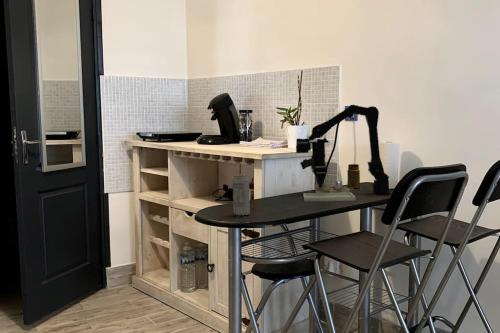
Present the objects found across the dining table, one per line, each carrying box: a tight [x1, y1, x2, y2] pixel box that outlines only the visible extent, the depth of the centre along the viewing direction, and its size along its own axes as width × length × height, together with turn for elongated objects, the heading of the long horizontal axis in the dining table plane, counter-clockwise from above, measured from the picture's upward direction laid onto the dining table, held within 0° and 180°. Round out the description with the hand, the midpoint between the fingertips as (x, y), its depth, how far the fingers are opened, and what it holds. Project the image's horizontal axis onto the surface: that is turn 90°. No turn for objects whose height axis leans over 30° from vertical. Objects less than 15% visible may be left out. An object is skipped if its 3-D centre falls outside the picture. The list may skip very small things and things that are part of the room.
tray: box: [303, 191, 356, 203], centre depth 218 cm, size 21×14×2 cm
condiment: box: [346, 163, 361, 188], centre depth 250 cm, size 7×8×12 cm
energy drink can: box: [232, 173, 251, 216], centre depth 185 cm, size 6×6×15 cm
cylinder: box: [334, 180, 343, 190], centre depth 231 cm, size 3×3×6 cm
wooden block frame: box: [315, 182, 351, 193], centre depth 231 cm, size 15×9×5 cm, turn 86°
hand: (319, 186), depth 231 cm, fingers open, 9 cm apart
